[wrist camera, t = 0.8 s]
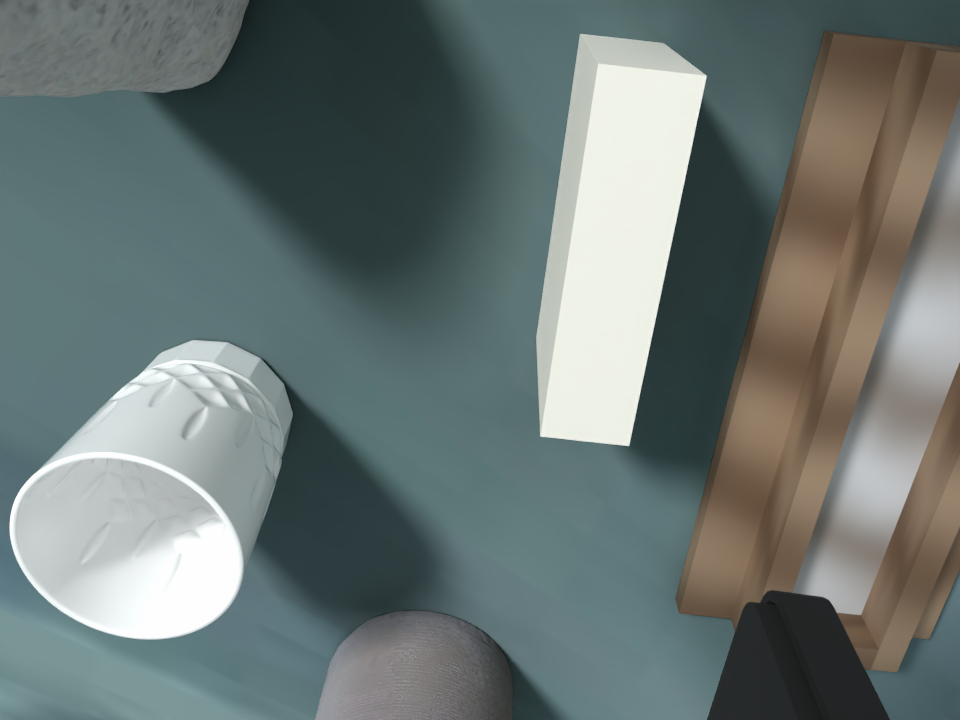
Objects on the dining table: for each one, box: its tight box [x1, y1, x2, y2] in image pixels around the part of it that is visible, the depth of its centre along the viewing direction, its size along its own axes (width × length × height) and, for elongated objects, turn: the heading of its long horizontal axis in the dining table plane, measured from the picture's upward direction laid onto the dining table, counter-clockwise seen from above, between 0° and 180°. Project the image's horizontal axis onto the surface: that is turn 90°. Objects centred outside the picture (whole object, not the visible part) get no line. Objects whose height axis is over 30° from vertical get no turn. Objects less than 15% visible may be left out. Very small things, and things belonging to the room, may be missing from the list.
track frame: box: [676, 31, 960, 672], centre depth 35 cm, size 26×12×3 cm, turn 174°
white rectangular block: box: [536, 34, 707, 446], centre depth 30 cm, size 12×3×8 cm, turn 174°
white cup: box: [10, 340, 293, 639], centre depth 34 cm, size 8×8×10 cm
